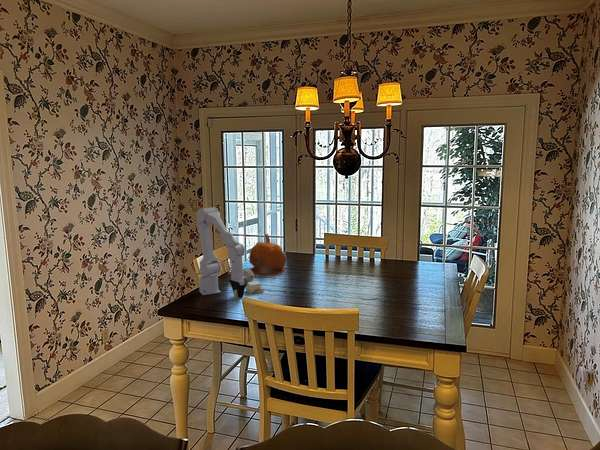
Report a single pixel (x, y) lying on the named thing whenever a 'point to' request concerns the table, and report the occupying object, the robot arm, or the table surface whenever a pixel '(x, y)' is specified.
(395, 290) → the table surface
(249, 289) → the birch base block
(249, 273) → the game die
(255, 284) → the cream block
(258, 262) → the pumpkin
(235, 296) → the green capsule
